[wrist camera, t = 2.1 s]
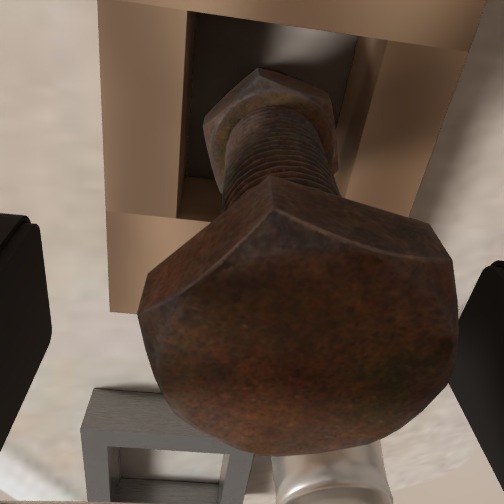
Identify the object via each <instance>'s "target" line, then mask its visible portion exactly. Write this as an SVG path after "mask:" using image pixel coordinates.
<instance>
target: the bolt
mask: <svg viewBox="0 0 504 504" xmlns="http://www.w3.org/2000/svg"><path fill="white" fill-rule="evenodd" d="M203 131H204V136H205V141H206V146H207V150H208V154H209V158H210V163H211V166H212V170H213V173H214V177H215V180H216V183H217V186H218V188H219V191H220V193H222V206H221V215H220V216H218V217H217V218H216V219H215V220H213V221H212V222H211V223H210V224H208V225H207V226H206V227H205V228H203V229H202V230H201V231H200V232H198V233H197V234H196V235H195V236H194V237H192V238H191V239H190V240H189V241H187V242H186V243H185V244H184V245H182V246H181V247H180V248H179V249H177V250H176V251H175V252H174V253H172V254H171V255H170V256H169V257H167V258H166V259H165V260H164V261H162V262H161V263H160V264H159V265H157V266H156V267H155V268H154V269H152V270H151V271H150V272H149V273H148V274H147V278H146V282H145V285H144V289H143V293H142V296H141V300H140V304H139V307H138V311H137V315H138V319H139V324H140V328H141V332H142V336H143V341H144V345H145V349H146V352H147V356H148V359H149V362H150V365H151V368H152V371H153V374H154V377H155V379H156V381H157V383H158V386H159V388H160V390H161V392H162V394H163V396H164V398H165V400H166V401H167V403H168V405H169V407H170V408H171V409H172V411H173V412H174V414H175V415H177V416H178V417H179V418H180V419H181V420H183V421H184V422H185V423H186V424H188V425H190V426H192V427H193V428H195V429H197V430H199V431H200V432H202V433H204V434H205V435H207V436H209V437H211V438H212V439H214V440H216V441H219V442H221V443H223V444H226V445H228V446H231V447H233V448H235V449H238V450H241V451H245V452H249V453H252V454H257V455H265V456H274V457H281V456H294V455H308V454H320V453H325V452H331V451H336V450H341V449H347V448H352V447H357V446H363V445H368V444H370V443H372V442H375V441H377V440H380V439H382V438H384V437H386V436H388V435H390V434H392V433H393V432H395V431H397V430H399V429H400V428H402V427H403V426H404V425H405V424H407V423H408V422H409V421H410V420H412V419H413V418H414V417H416V416H417V415H418V414H419V413H421V412H422V411H423V410H424V409H425V408H426V407H427V406H428V405H429V404H430V403H431V401H432V400H433V399H434V398H435V397H436V396H437V395H438V394H439V393H440V392H441V391H442V390H443V389H444V388H445V387H446V386H447V384H448V382H449V380H450V379H451V377H452V375H453V373H454V368H455V364H456V356H457V347H458V334H459V322H458V302H457V293H456V285H455V277H454V270H453V262H452V259H451V257H450V256H449V254H448V253H447V251H446V249H445V248H444V246H443V245H442V243H441V242H440V240H439V239H438V237H437V235H436V234H435V232H434V231H433V229H432V228H431V226H430V225H429V224H428V223H424V222H421V221H418V220H415V219H411V218H408V217H405V216H402V215H398V214H395V213H392V212H389V211H385V210H382V209H379V208H376V207H372V206H369V205H366V204H363V203H359V202H356V201H353V200H350V199H346V198H343V197H342V196H341V195H340V193H339V189H338V187H337V184H336V181H335V178H334V174H335V173H336V172H337V171H338V170H339V168H338V149H337V138H336V130H335V122H334V115H333V109H332V102H331V99H330V98H329V96H328V94H327V92H326V91H324V90H322V89H319V88H317V87H315V86H313V85H310V84H308V83H305V82H303V81H300V80H298V79H295V78H292V77H289V76H287V75H286V74H284V73H281V72H278V71H274V70H265V69H261V68H257V69H255V70H254V71H253V72H252V73H250V74H249V75H248V76H247V77H245V78H244V79H243V80H242V81H241V82H239V83H238V84H237V85H236V86H235V87H234V88H233V89H232V90H230V91H229V92H228V93H227V94H226V95H225V96H224V97H223V98H222V99H221V100H220V101H219V102H218V103H217V104H216V105H215V106H214V107H213V108H212V109H211V111H210V112H209V113H208V114H207V115H206V116H205V118H204V123H203Z"/></svg>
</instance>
